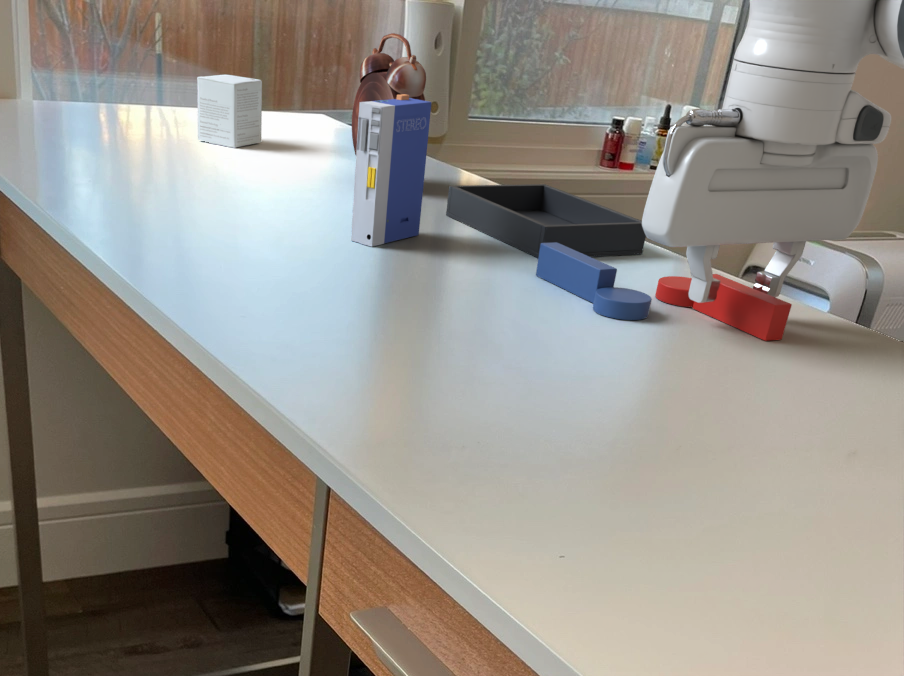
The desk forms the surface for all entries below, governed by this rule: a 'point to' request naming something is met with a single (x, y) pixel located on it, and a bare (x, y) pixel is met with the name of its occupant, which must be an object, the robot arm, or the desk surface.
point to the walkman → (389, 169)
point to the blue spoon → (591, 282)
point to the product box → (229, 110)
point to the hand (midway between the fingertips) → (733, 298)
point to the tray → (545, 219)
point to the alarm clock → (387, 79)
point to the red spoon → (732, 305)
